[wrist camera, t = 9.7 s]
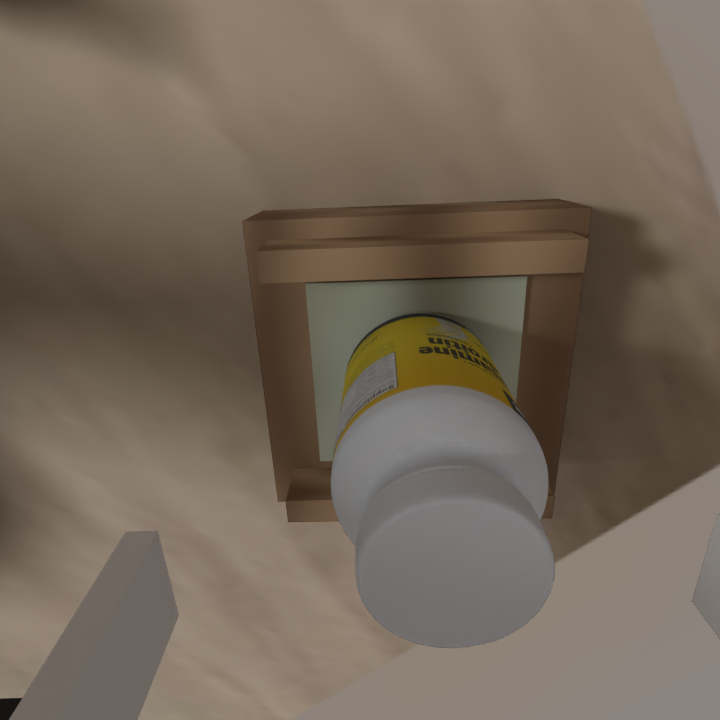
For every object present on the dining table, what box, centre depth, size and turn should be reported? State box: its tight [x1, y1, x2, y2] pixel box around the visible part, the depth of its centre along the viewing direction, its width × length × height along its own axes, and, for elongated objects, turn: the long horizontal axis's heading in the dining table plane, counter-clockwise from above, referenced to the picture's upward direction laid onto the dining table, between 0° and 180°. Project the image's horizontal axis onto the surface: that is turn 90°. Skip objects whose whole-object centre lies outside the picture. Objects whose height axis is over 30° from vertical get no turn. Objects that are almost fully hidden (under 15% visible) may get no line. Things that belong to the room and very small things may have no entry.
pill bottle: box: [331, 312, 555, 648], centre depth 17 cm, size 6×6×12 cm
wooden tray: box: [242, 199, 592, 522], centre depth 23 cm, size 14×14×6 cm
